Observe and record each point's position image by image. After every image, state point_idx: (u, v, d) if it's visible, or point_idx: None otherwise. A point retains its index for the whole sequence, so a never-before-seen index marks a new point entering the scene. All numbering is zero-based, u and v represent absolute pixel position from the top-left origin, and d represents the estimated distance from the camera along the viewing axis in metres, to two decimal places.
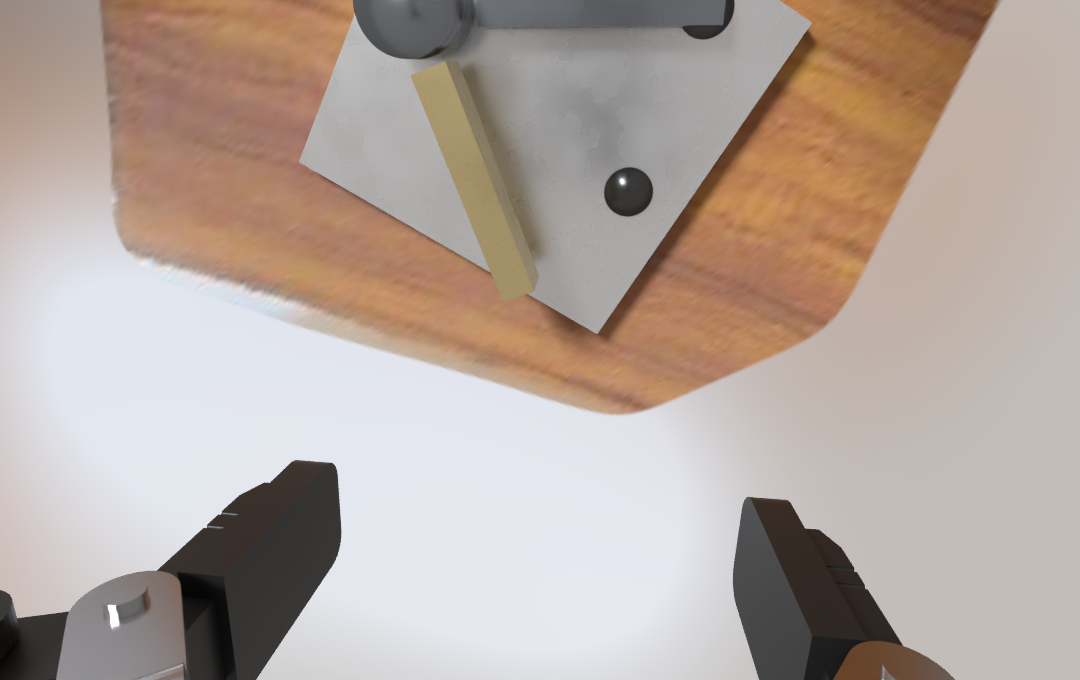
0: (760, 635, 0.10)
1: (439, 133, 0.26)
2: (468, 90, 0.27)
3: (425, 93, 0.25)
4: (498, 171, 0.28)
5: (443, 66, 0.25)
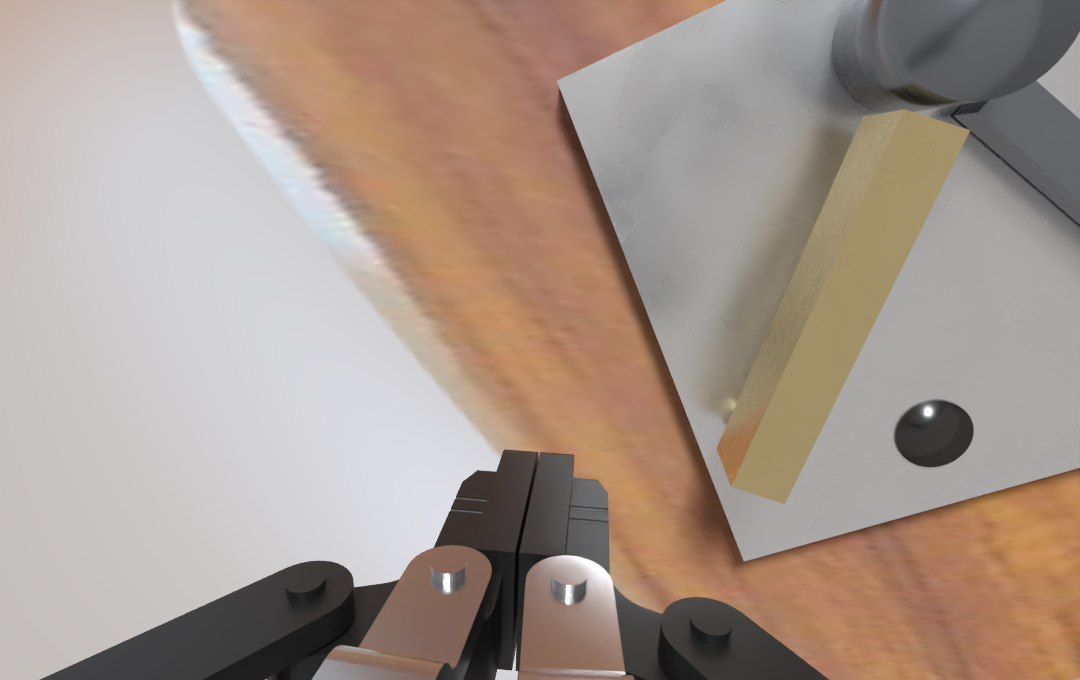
0: None
1: (864, 216, 0.15)
2: None
3: (900, 149, 0.14)
4: None
5: (961, 135, 0.14)
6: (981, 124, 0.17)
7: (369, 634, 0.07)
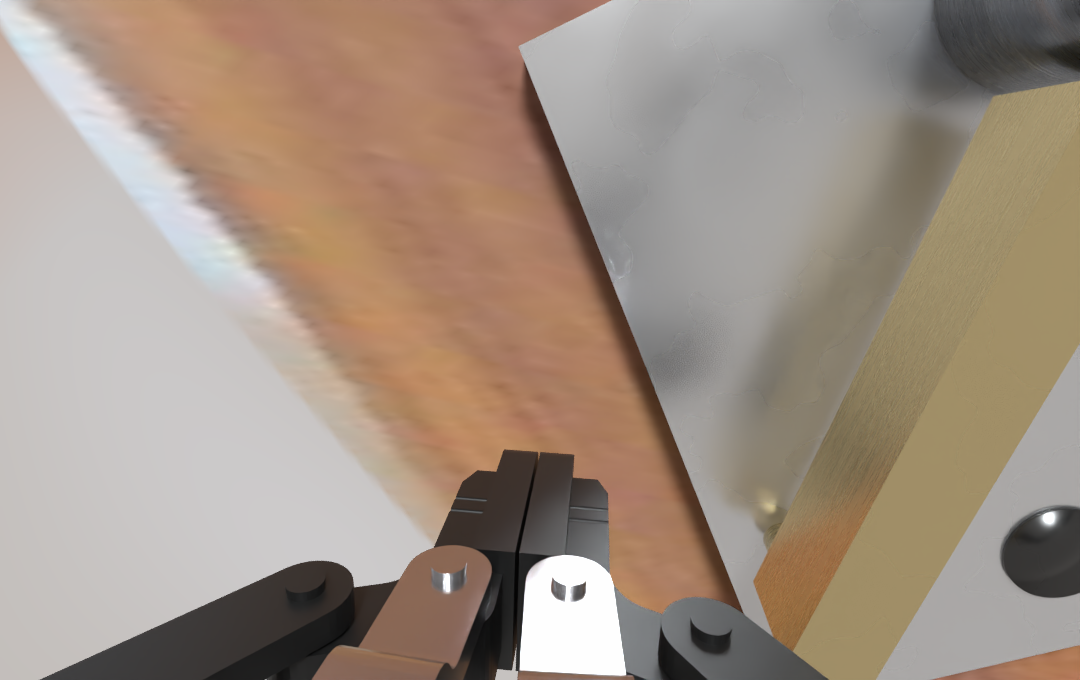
0: None
1: (1021, 259, 0.09)
2: None
3: None
4: None
5: None
6: None
7: (370, 633, 0.07)
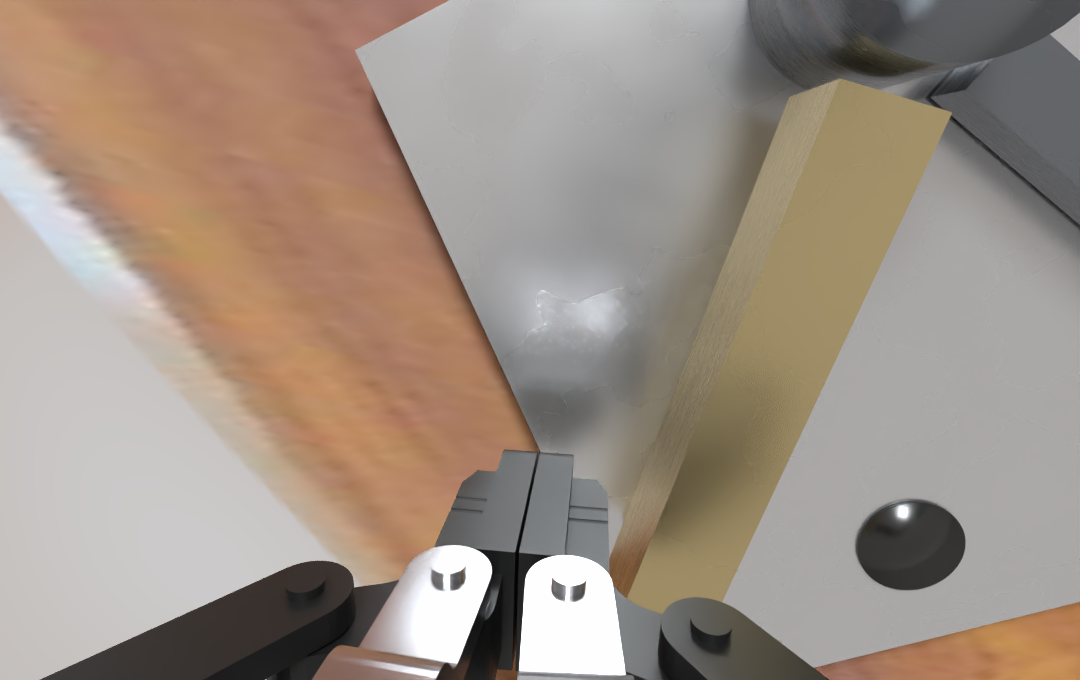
0: None
1: (782, 256, 0.09)
2: None
3: (836, 146, 0.09)
4: None
5: (937, 121, 0.08)
6: (971, 109, 0.11)
7: (369, 634, 0.07)
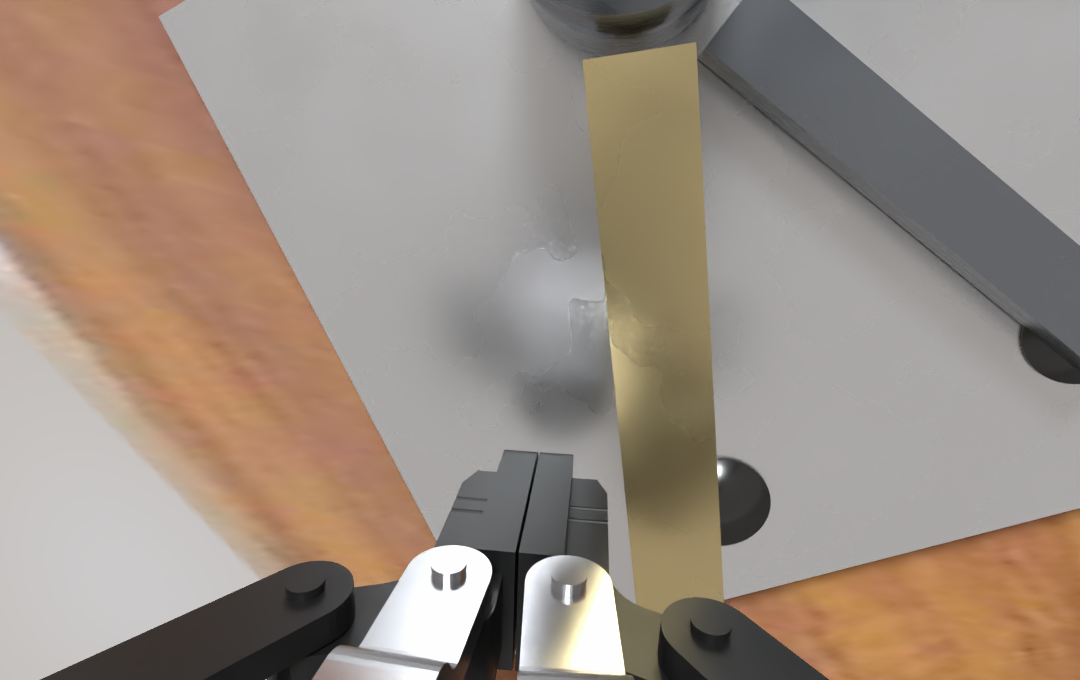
0: None
1: (612, 232, 0.09)
2: None
3: (609, 118, 0.09)
4: None
5: (686, 56, 0.09)
6: (722, 68, 0.11)
7: (370, 633, 0.07)
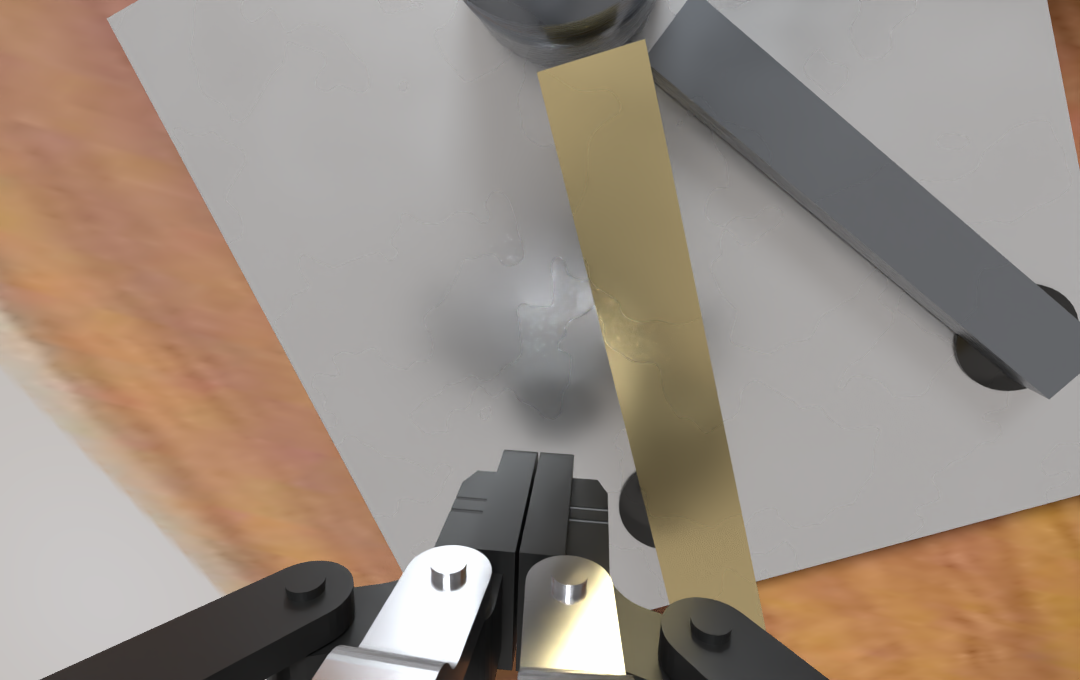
0: None
1: (591, 235, 0.09)
2: None
3: (571, 125, 0.09)
4: None
5: (637, 54, 0.09)
6: (661, 79, 0.12)
7: (369, 634, 0.07)
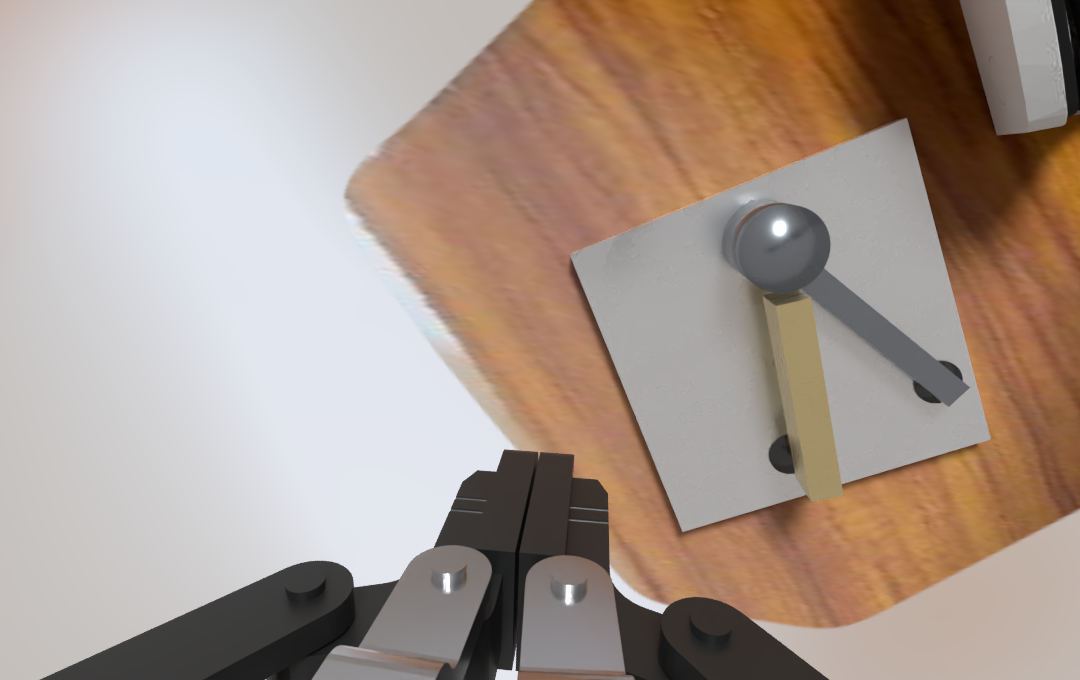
0: None
1: (789, 355, 0.29)
2: None
3: (785, 321, 0.28)
4: None
5: (808, 302, 0.28)
6: (800, 288, 0.31)
7: (370, 634, 0.07)
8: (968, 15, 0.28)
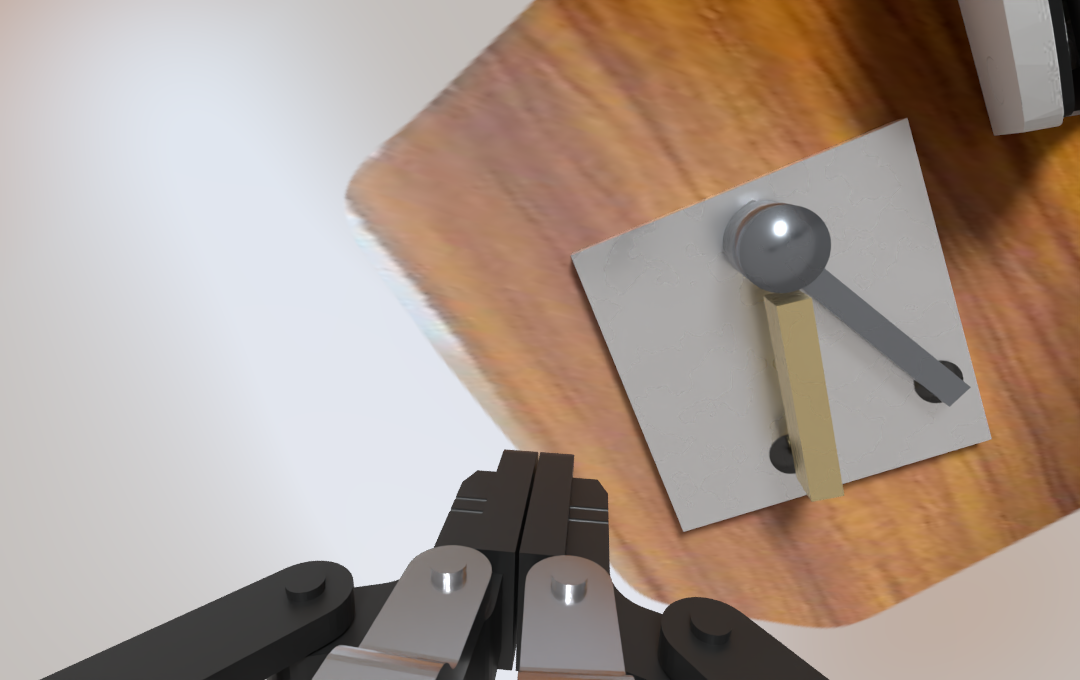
0: None
1: (789, 355, 0.29)
2: None
3: (786, 321, 0.28)
4: None
5: (809, 302, 0.28)
6: (801, 288, 0.31)
7: (369, 634, 0.07)
8: (966, 15, 0.28)
